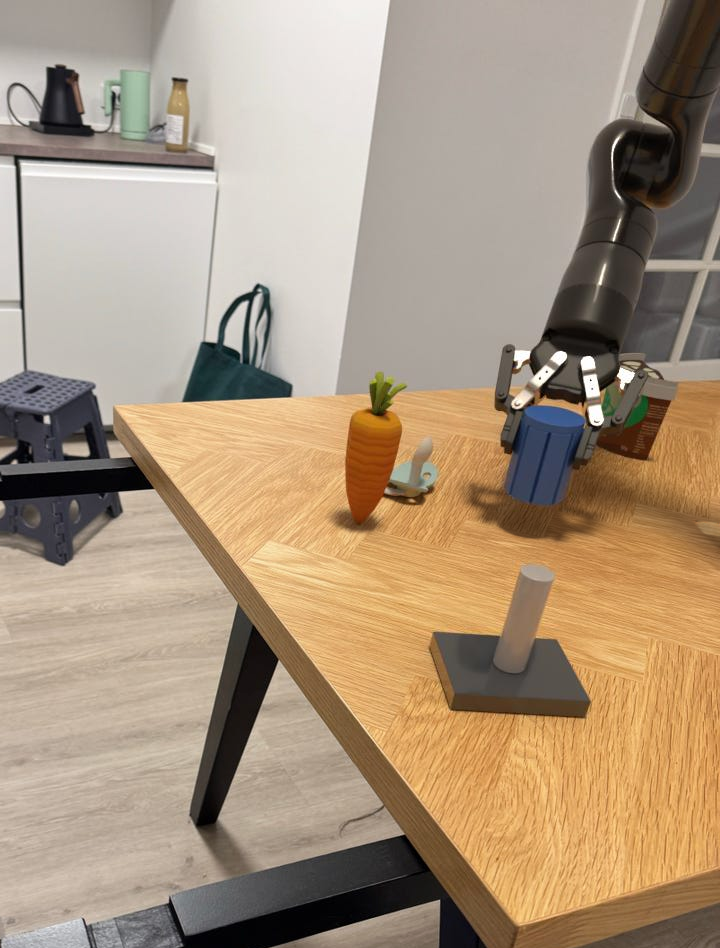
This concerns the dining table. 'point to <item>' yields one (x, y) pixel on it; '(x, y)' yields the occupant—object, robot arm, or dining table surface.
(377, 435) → the carrot
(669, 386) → the food container
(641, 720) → the dining table surface
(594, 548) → the dining table surface
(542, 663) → the peg stand
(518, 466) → the cap
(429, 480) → the pacifier
